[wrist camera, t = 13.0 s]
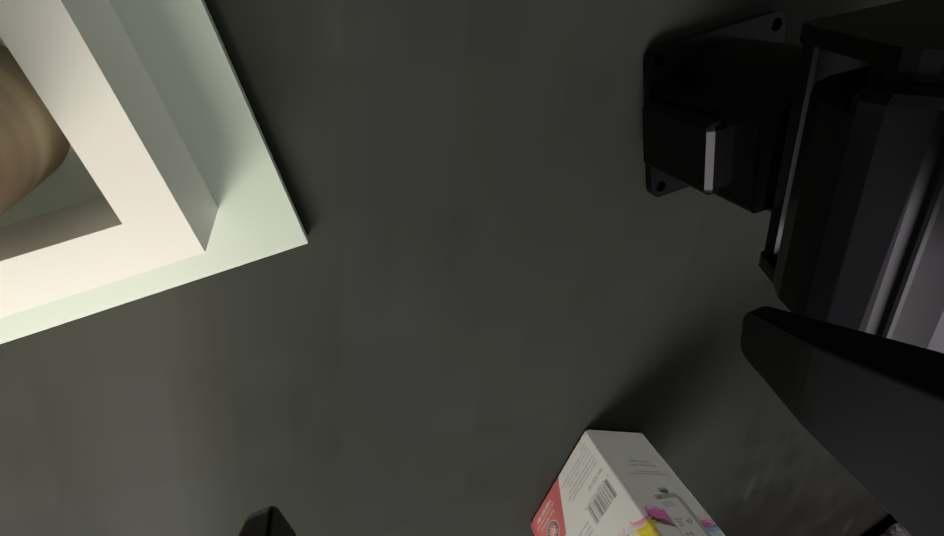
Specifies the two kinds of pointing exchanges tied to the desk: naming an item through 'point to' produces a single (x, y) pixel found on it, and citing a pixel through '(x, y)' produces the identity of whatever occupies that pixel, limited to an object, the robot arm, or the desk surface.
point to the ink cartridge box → (620, 493)
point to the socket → (134, 161)
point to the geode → (895, 531)
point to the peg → (24, 135)
